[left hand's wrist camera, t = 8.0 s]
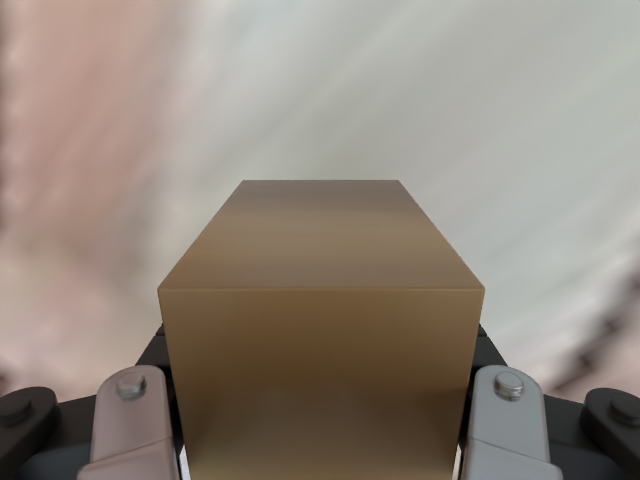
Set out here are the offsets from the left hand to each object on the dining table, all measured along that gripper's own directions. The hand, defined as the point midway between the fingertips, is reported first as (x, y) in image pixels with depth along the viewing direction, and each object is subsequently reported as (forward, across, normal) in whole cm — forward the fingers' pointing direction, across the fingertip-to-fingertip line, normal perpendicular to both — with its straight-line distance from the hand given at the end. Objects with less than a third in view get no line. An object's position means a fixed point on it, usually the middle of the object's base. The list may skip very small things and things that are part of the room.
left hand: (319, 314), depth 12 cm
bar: (+4, 0, +10) cm, 10 cm away
